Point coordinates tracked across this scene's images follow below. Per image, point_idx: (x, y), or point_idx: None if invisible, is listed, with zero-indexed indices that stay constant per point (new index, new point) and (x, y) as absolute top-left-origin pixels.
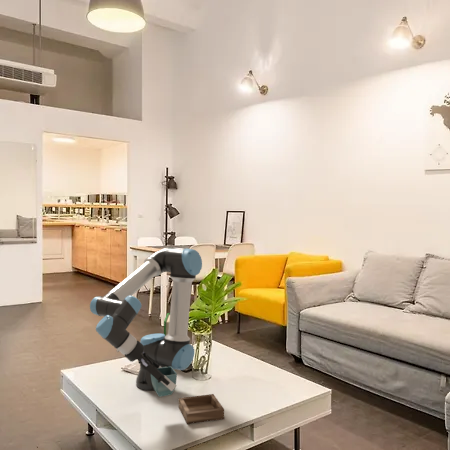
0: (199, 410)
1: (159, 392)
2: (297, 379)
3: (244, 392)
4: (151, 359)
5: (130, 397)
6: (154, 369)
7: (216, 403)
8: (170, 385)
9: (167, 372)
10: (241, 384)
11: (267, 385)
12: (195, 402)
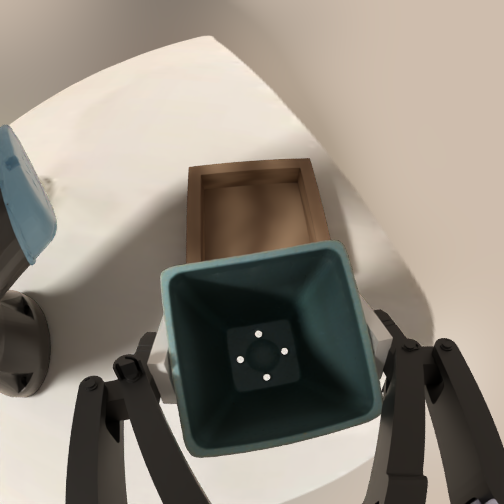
0: (251, 229)
1: (324, 380)
2: (151, 53)
3: (160, 116)
4: (153, 473)
5: None
6: (487, 419)
7: (265, 168)
8: None
9: (184, 310)
10: (117, 119)
11: (149, 83)
12: (203, 232)
